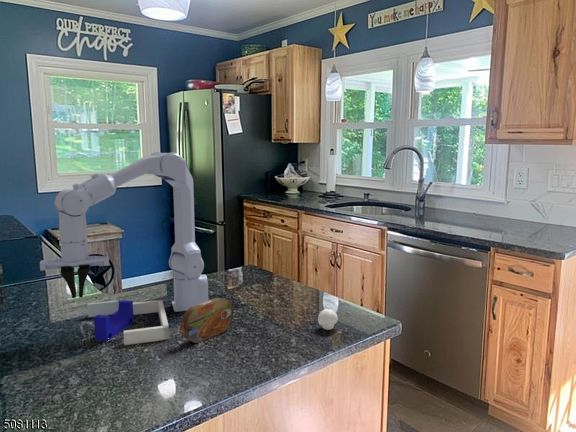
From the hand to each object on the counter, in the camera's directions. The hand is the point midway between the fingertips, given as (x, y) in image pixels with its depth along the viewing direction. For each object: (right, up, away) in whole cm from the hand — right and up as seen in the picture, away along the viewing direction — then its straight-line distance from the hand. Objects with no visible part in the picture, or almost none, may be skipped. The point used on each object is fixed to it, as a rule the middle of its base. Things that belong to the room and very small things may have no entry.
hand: (77, 296), depth 104 cm
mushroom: (+60, -9, +6) cm, 61 cm away
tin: (+31, -10, +1) cm, 32 cm away
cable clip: (+7, -10, +4) cm, 12 cm away
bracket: (+14, -9, +7) cm, 18 cm away
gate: (+1, -8, +13) cm, 15 cm away
